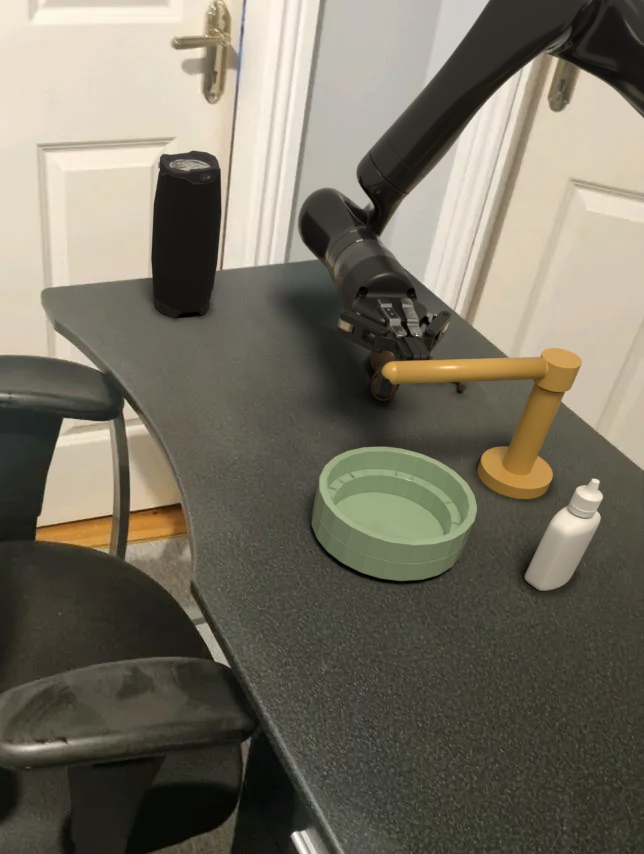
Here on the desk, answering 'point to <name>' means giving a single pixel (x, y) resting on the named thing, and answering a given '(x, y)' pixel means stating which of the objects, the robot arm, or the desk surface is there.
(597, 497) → the eye dropper bottle
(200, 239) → the portable speaker
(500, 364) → the spout
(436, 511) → the basin
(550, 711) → the desk surface
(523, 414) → the tap base
